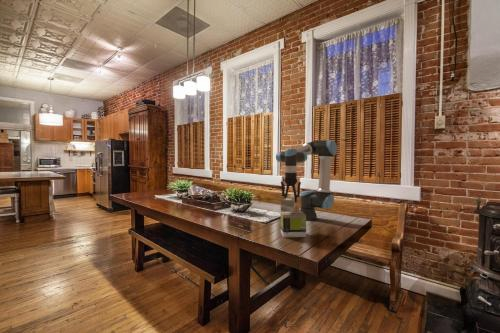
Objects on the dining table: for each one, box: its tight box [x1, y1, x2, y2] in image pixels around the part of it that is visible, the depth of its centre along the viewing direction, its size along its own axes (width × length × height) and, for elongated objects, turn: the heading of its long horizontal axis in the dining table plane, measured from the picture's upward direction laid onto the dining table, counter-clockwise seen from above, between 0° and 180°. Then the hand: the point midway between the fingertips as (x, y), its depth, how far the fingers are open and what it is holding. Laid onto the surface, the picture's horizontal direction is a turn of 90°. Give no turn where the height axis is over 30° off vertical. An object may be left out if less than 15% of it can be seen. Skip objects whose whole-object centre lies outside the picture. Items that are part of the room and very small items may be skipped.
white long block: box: [280, 193, 298, 212], centre depth 167 cm, size 24×8×7 cm, turn 159°
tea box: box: [280, 211, 307, 238], centre depth 163 cm, size 15×10×15 cm, turn 92°
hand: (290, 207), depth 166 cm, fingers closed on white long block, 4 cm apart
